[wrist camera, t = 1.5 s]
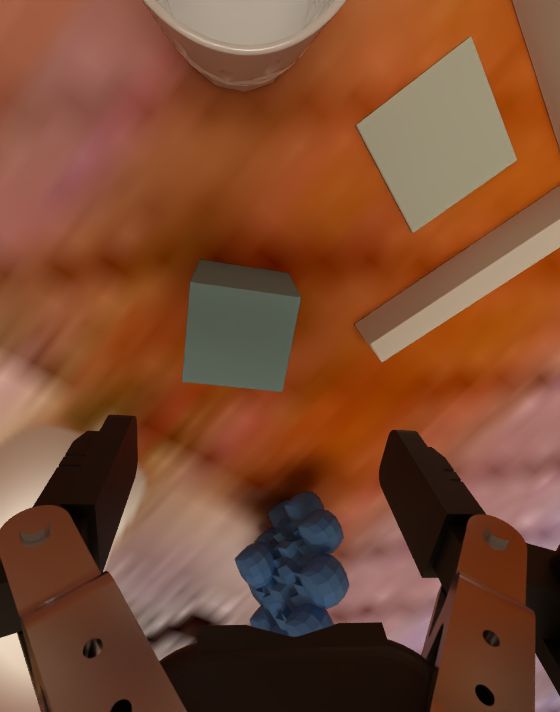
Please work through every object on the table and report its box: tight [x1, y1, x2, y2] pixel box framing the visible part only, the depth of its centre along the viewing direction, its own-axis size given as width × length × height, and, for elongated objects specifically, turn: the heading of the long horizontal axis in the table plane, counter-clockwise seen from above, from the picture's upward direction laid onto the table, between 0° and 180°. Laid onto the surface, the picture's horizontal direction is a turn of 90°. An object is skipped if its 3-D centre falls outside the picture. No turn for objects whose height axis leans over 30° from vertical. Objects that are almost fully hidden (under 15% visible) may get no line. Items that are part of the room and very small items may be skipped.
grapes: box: [235, 491, 349, 637], centre depth 27 cm, size 12×7×12 cm, turn 156°
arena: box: [354, 0, 560, 362], centre depth 22 cm, size 17×14×4 cm
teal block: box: [182, 260, 301, 392], centre depth 23 cm, size 6×6×6 cm
